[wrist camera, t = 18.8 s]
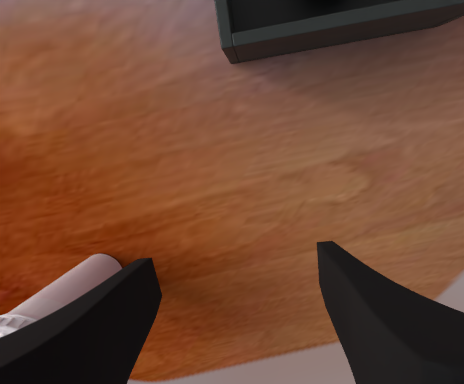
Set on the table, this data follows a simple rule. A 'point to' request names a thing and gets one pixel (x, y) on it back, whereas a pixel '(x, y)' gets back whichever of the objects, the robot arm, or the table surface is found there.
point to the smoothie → (60, 292)
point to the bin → (320, 23)
